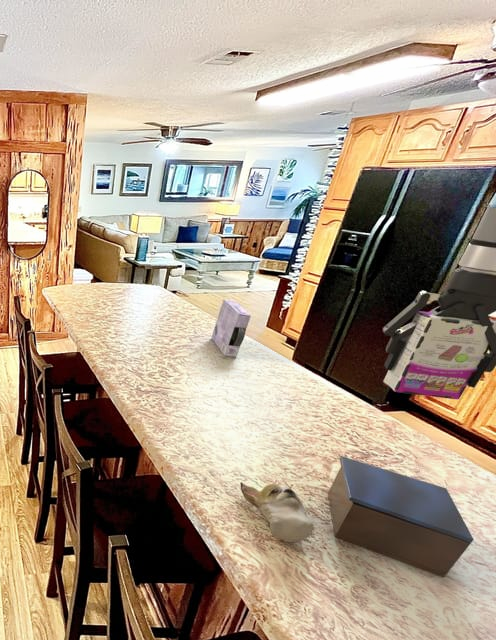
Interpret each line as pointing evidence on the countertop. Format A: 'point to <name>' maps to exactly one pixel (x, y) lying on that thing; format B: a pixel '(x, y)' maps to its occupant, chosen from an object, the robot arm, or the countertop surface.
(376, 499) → the chest lid
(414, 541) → the chest
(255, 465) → the countertop surface
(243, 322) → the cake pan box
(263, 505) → the ceramic sculpture
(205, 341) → the countertop surface
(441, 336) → the candy bar box
